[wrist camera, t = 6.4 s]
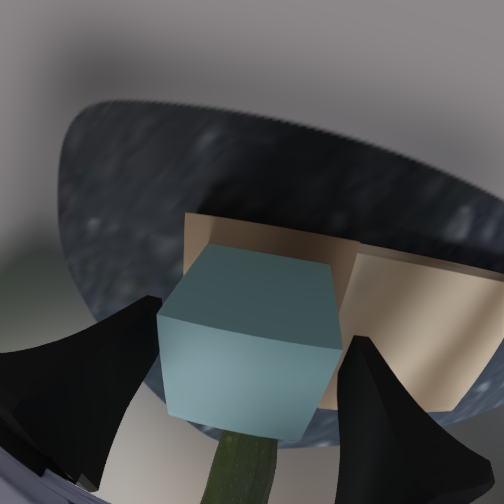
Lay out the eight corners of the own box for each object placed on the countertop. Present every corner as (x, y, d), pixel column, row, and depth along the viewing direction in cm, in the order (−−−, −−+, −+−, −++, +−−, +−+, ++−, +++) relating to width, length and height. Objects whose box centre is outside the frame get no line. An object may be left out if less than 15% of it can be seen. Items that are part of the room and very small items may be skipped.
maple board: (522, 269, 11) (533, 280, 10) (447, 398, 16) (452, 411, 15) (195, 204, 13) (185, 212, 12) (192, 369, 17) (185, 384, 16)
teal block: (330, 264, 12) (343, 350, 7) (303, 355, 14) (299, 441, 9) (207, 243, 12) (156, 314, 8) (203, 335, 14) (168, 414, 10)
